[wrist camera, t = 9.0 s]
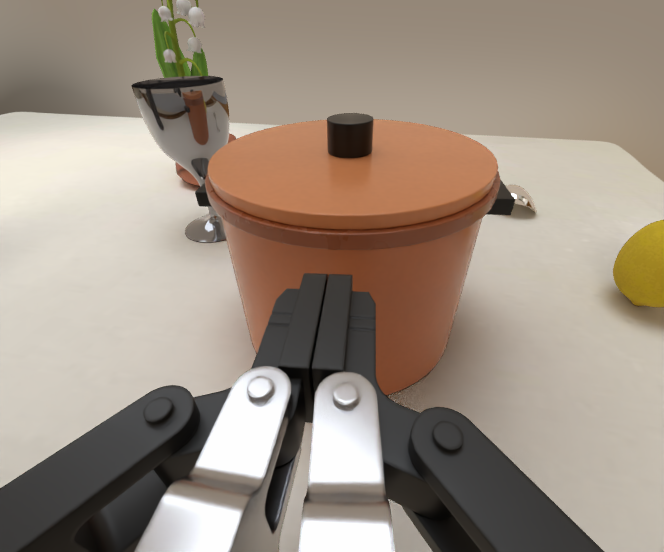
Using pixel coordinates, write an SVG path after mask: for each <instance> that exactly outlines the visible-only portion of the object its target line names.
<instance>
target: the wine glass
mask: <svg viewBox="0 0 664 552" xmlns="http://www.w3.org/2000/svg"><path fill="white" fill-rule="evenodd" d="M132 89H133V92H134V95H135V98H136V101H137V104H138V107H139V109H140V112H141V114H142V117H143V119H144V122H145V124H146V126H147V128H148V130H149V132H150V134H151V135H152V137H153V139H154V140H155V142H156V144H157V145H158V146H159V148H160V149H161V150H162V151H163V152H164V153H165V154H166V155H167V156H168V157H170V158H171V159H172V160H174V161H175V162H177V163H178V164H179V165H181V166H182V167H184V168H185V169H186V170H188V171H189V172H190V173H191V174H192V175H193V176H194V177H195V179H196V180H197V181H198V183H199V185H200V187H201V186H202V185H203V184H204V183H205V179H206V174H207V173H208V170H207V169H208V163H209V161H210V159H211V157H212V156H213V155H214V154H215V153H216V152H217V151H218V150H219V149H220V148H222V147H223V146H225V145H226V144H227V143H228V138H229V109H228V102H227V96H226V90H225V85H224V81H223V78H220V77H214V76H182V77H169V78H160V79H153V80H147V81H142V82H138V83H135V84H133V85H132ZM208 209H209V215H205V216H202V217H200V218H198V219H196V220H194V221H192V222H191V223H190V224H189V225H188V226H187V227H186V230H185V234H186V236H187V237H188V238H189V239H191V240H193V241H197V242H218V241H223V240H226V236H225V232H224V228H223V223H222V219H221V217H220V216H219V215H218V214H217V213H216V211H215V210H214V209H213V207H210V206H208Z"/></svg>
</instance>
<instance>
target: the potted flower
mask: <svg viewBox="0 0 664 552" xmlns="http://www.w3.org/2000/svg"><path fill="white" fill-rule="evenodd" d="M161 1H162V0H161ZM195 1H196V6H197V7H192V6H191V3H190V2H189V0H177V2H176V5H177V8H178V12H177V13H178V14H180V13H181V15H185V16H186V15H188V17H189V19H190V22H188V21H187V20H185V19H182V18H178V19H174V15H173V4H172V0H167V7H165V6H163V3H162V6H161V7H160V8H159V12H157V11H156V10H155V9H154V10H153V12H152V23H153V31H154V40H155V49H156V58H157V60H158V63H159V66H160V68H161V71H162V74H163V76H164V78H169V77H182V76H208V70H207V63H206V59H205V55H204V52H203V50H202V48H201V47H202V45H201V42H200V40H199V39H198V38H196V36H195V33H194V31H193V29H192V27H191V25H190V24H193V26H196V27H199V24H200V27H202V28H204V20H205V16H204V13H203V11H202V10H201V9H200V8H198V0H195ZM179 21H185V22H186V23H187V24H188V25H189V26H190V28H191V30H192V32H193V34H194V37H191V38H190V39H189V40H188V46H189V49H188V51H193V52H194V55H193V60H191V59H188V58H184V56H183V54H182V52H181V50H180V48H179V45H178V39H177V34H176V28H175V24H176V23H177V22H179ZM166 22H169V26H168V25H167V23H166ZM187 61H190V62H192V68H191V71H190V69H189V67H188V64H187ZM234 140H236V137H235V136H234V135H232V134H229V138H228V143H230V142H232V141H234ZM228 143H227V144H228ZM176 170H177V174H178V175H179V176H180V177H181V178H182V179H183V180H184V181H185V182H187V183H190V184H193V185H198V186H200V185H199V183H198V181H197V180H196V179H195V177H194V176H193V175H192V174H191V173H190V172H189V171H188V170H186V169H185V168H184V167H182V166H181V165H179V164H178V163H177V162H176Z"/></svg>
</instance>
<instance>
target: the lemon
mask: <svg viewBox="0 0 664 552" xmlns="http://www.w3.org/2000/svg"><path fill="white" fill-rule="evenodd" d="M613 276H614V281H615V283H616V285H617V287H618V289H619V290H620V291H621V292H622V293H623V294H624V295H625V296H626V297H627V298H629V299H630V300H631V302H632V303H633V304H634V305H636V306H644V305H645V306H650V307H664V220H660V221H656V222H653V223H651V224H649V225H647V226H645V227H644V228H642V229H641V230H639V231H638V232H636V233H635V234H634V235H633V236H632V237H631V238H630V239H629V240H628V241H627V242H626V243H625V245H624V246H623V247H622V249H621V250H620V252H619V254H618V256H617V258H616V261H615V264H614V268H613Z"/></svg>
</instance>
